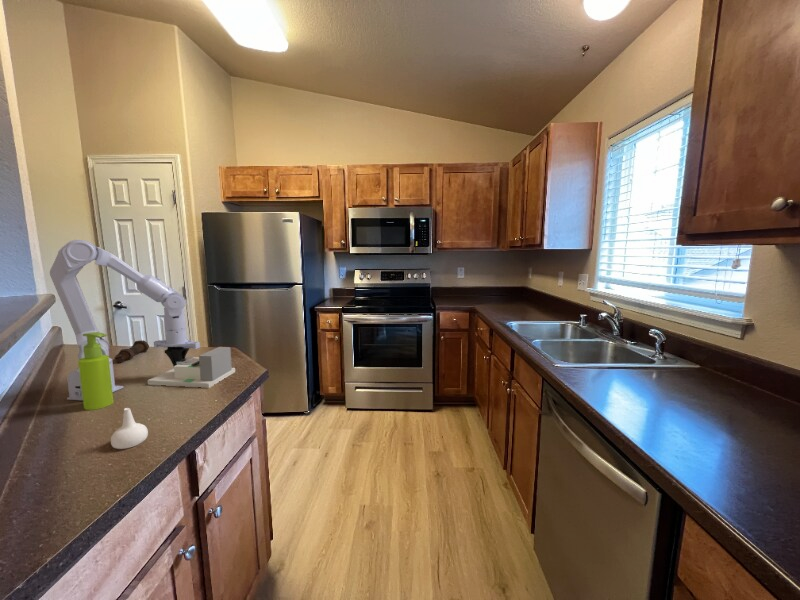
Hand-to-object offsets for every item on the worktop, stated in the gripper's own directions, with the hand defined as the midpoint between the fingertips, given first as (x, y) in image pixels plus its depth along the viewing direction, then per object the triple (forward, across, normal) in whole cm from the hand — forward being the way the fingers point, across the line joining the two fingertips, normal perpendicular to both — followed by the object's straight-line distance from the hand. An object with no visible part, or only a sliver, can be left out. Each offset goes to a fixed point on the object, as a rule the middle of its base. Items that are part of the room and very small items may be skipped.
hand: (178, 368), depth 108 cm
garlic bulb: (+3, -17, +36) cm, 40 cm away
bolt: (+3, +33, -17) cm, 37 cm away
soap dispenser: (+3, +6, +21) cm, 22 cm away
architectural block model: (+3, -5, 0) cm, 6 cm away
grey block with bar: (+1, -6, 0) cm, 6 cm away
